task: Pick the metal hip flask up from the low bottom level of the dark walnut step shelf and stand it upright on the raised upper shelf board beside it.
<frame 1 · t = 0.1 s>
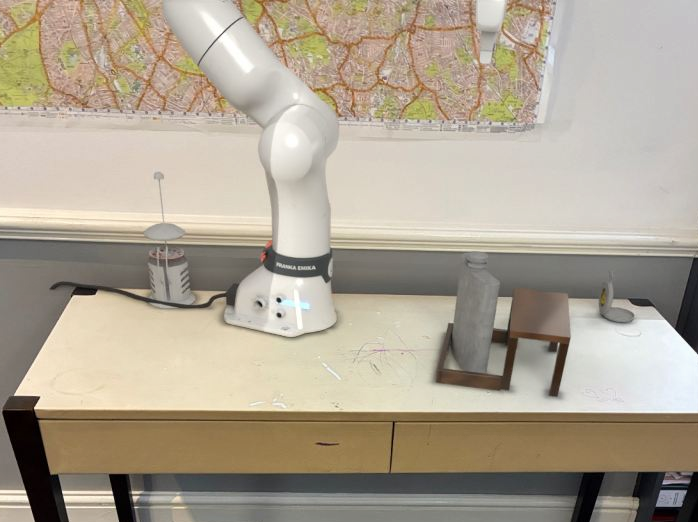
hand: (486, 59, 126), 48 cm above the table, tool pointing down, fingers open, 8 cm apart
french press: (171, 301, 162), on the table
pocket watch: (611, 318, 167), on the table
hip flask: (465, 361, 147), on the table
shelf stand: (502, 364, 146), on the table
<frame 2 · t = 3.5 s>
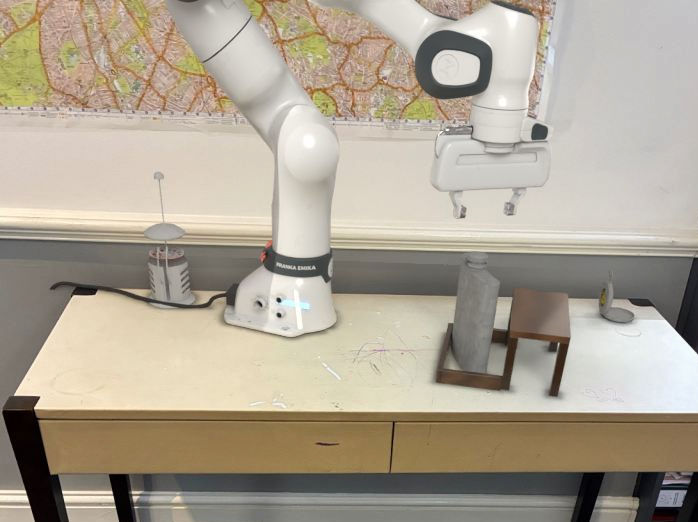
hand: (484, 216, 131), 26 cm above the table, tool pointing down, fingers open, 8 cm apart
nothing on the table moved.
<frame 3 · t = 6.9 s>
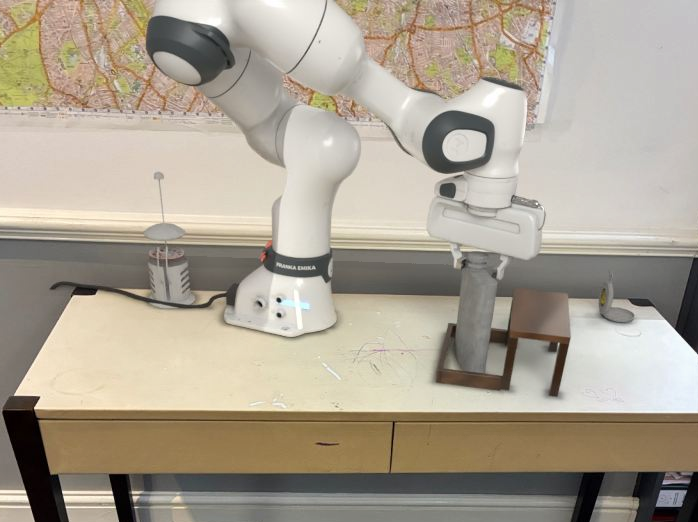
hand: (477, 272, 137), 17 cm above the table, tool pointing down, fingers closed on hip flask, 6 cm apart
hip flask: (466, 360, 147), on the table, touching gripper
everything else where it was.
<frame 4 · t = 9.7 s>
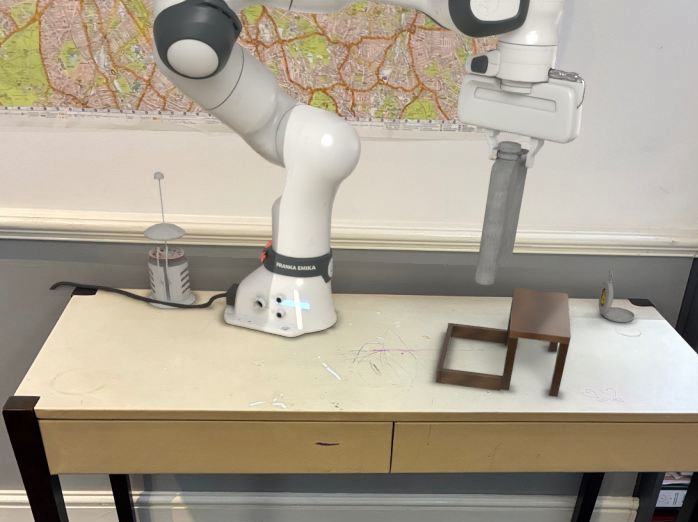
hand: (510, 163, 125), 35 cm above the table, tool pointing down, fingers closed on hip flask, 4 cm apart
hip flask: (491, 268, 135), point 18 cm above the table, touching gripper
everything else where it was.
when the fingers open (28 cm above the table, at t = 12.8 s): hip flask stays where it is, resting on shelf stand.
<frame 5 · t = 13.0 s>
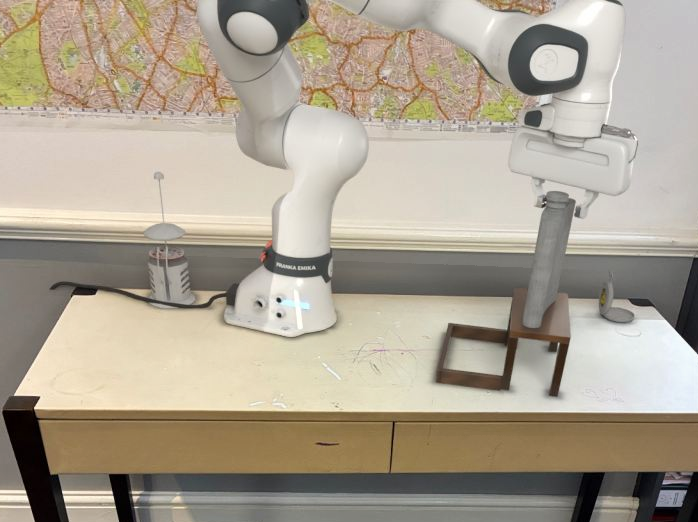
hand: (559, 212, 128), 28 cm above the table, tool pointing down, fingers open, 6 cm apart
hip flask: (536, 311, 138), point 11 cm above the table, touching shelf stand
everything else where it was.
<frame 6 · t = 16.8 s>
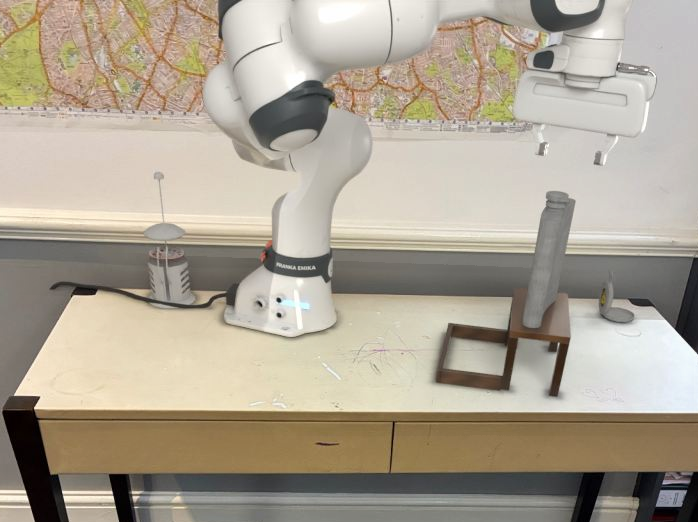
hand: (569, 159, 123), 36 cm above the table, tool pointing down, fingers open, 8 cm apart
nothing on the table moved.
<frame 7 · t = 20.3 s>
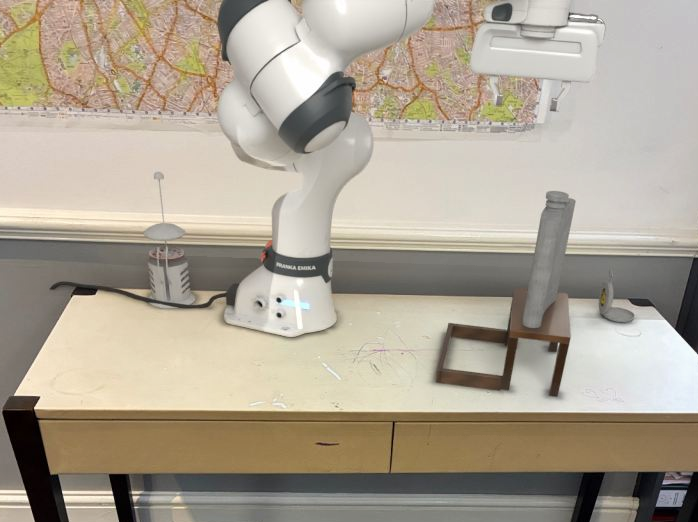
hand: (525, 108, 130), 41 cm above the table, tool pointing down, fingers open, 8 cm apart
nothing on the table moved.
at the end: hip flask 0.6 cm from the target spot on the shelf stand, point 11.0 cm above the shelf stand's base; hip flask tilted 0°; the gripper is holding nothing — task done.
